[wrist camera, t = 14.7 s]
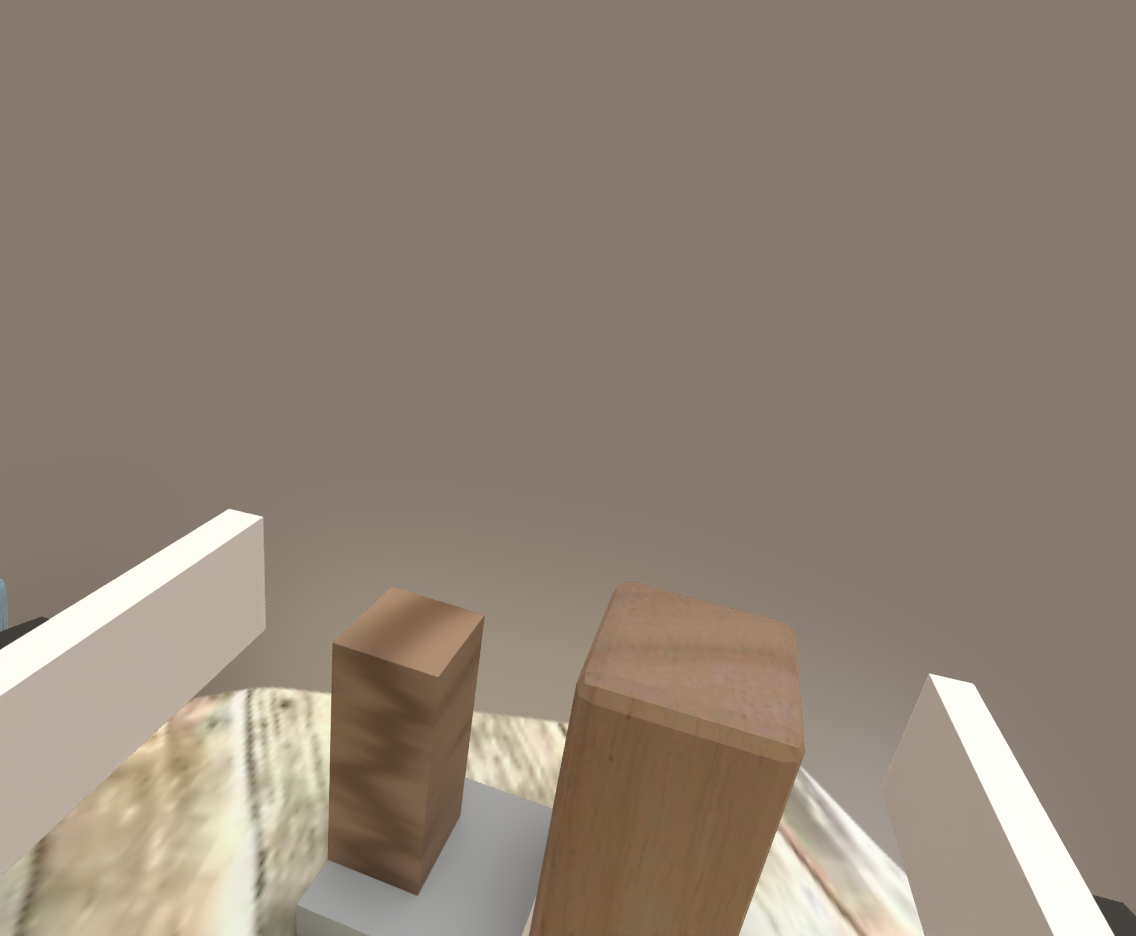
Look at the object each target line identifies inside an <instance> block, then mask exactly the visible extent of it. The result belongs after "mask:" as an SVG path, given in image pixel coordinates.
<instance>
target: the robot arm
mask: <svg viewBox="0 0 1136 936" xmlns="http://www.w3.org/2000/svg"><path fill="white" fill-rule="evenodd" d="M265 623H266V622H265V578H264V532H263V517H261V516H256V515H253V514H248V513H244V512H239V511H235V510H231V509H228V510H227V511H225V512H223V513H222V514H220V515H219V516H217V517H215V518H214V519H212V520H211V521H209V522H207V523H206V524H204V525H203V526H201V527H199V528H197V529H196V530H194V531H193V532H191V533H189V534H188V535H186V536H184V537H183V538H181V539H180V540H178V541H176V542H175V543H173V544H171V545H170V546H168V547H167V548H165V549H163V550H162V551H160V552H158V553H157V554H155V555H154V556H152V557H150V558H149V559H147V560H146V561H144V562H142V563H141V564H139V565H137V566H136V567H134V568H132V569H131V570H129V571H128V572H126V573H125V574H123V575H121V576H119V577H118V578H116V579H115V580H113V581H111V582H110V583H108V584H106V585H105V586H103V587H102V588H100V589H99V590H97V591H95V592H93V593H92V594H90V595H89V596H87V597H85V598H84V599H82V600H80V601H79V602H77V603H76V604H74V605H72V606H71V607H69V608H68V609H66V610H64V611H63V612H61V613H59V614H58V615H56V616H54V617H53V618H51V619H48V618H44V617H39V618H37V619H34V620H31V621H28V622H26V623H23V624H20V625H17V626H14V627H12V628H9V629H8V609H7V595H6V587H5V584H4V582H3V580H2V579H1V578H0V877H1V876H2V875H3V874H4V873H5V872H6V871H7V870H8V869H10V868H11V867H12V866H13V865H14V864H15V863H16V862H17V861H18V860H19V859H20V858H21V857H22V856H23V855H25V854H26V853H27V852H28V851H29V850H30V849H31V848H32V847H33V846H34V845H35V844H36V843H37V842H38V841H39V840H41V839H42V838H43V837H44V836H45V835H46V834H47V833H48V832H49V831H50V830H51V829H52V828H53V827H54V826H56V825H57V824H58V823H59V822H60V821H61V820H62V819H63V818H64V817H65V816H66V815H67V814H68V813H69V812H70V811H72V810H73V809H74V808H75V807H76V806H77V805H78V804H79V803H80V802H81V801H82V800H83V799H84V798H85V797H86V796H88V795H89V794H90V793H91V792H92V791H93V790H94V789H95V788H96V787H97V786H98V785H99V784H100V783H101V782H103V781H104V780H105V779H106V778H107V777H108V776H109V775H110V774H111V773H112V772H113V771H114V770H115V769H116V768H117V767H119V766H120V765H121V764H122V763H123V762H124V761H125V760H126V759H127V758H128V757H129V756H130V755H131V754H132V753H133V752H135V751H136V750H137V749H138V748H139V747H140V746H141V745H142V744H143V743H144V742H145V741H146V740H147V739H148V738H150V737H151V736H152V735H153V734H154V733H155V732H156V731H157V730H158V729H159V728H160V727H161V726H162V725H163V724H164V723H166V722H167V721H168V720H169V719H170V718H171V717H172V716H173V715H174V714H175V713H176V712H177V711H178V710H179V709H180V708H182V707H183V706H184V705H185V704H186V703H187V702H188V701H189V700H190V699H191V698H192V697H193V696H194V695H195V694H197V693H198V692H199V691H200V690H201V689H202V688H203V687H204V686H205V685H206V684H207V683H208V682H209V681H210V680H211V679H213V678H214V677H215V676H216V675H217V674H218V673H219V672H220V671H221V670H222V669H223V668H224V667H225V666H226V665H228V664H229V663H230V662H231V661H232V660H233V659H234V658H235V657H236V656H237V655H238V654H239V653H240V652H241V651H242V650H244V649H245V648H246V647H247V646H248V645H249V644H250V643H251V642H252V641H253V640H254V639H255V638H256V637H257V636H258V635H260V634H261V633H262V632H263V631H264V630H265V629H266V624H265ZM881 790H882V793H883V797H884V800H885V804H886V807H887V810H888V814H889V817H890V820H891V824H892V827H893V830H894V834H895V837H896V841H897V844H898V847H899V850H900V854H901V857H902V861H903V864H904V867H905V871H906V874H907V877H908V881H909V884H910V888H911V891H912V894H913V898H914V901H915V904H916V908H917V911H918V914H919V918H920V921H921V925H922V928H923V931H924V935H925V936H1136V916H1135V915H1134V914H1133V913H1132V912H1131V911H1130V910H1129V909H1128V908H1127V907H1126V906H1125V905H1124V903H1121V902H1117V901H1114V900H1110V899H1106V898H1102V897H1099V896H1094V895H1091V893H1090V891H1089V889H1088V888H1087V886H1086V884H1085V882H1084V881H1083V879H1082V877H1081V875H1080V873H1079V871H1078V870H1077V868H1076V866H1075V864H1074V862H1073V861H1072V859H1071V857H1070V855H1069V854H1068V852H1067V850H1066V848H1065V846H1064V845H1063V843H1062V841H1061V839H1060V838H1059V836H1058V834H1057V832H1056V831H1055V829H1054V827H1053V825H1052V823H1051V821H1050V820H1049V818H1048V816H1047V814H1046V813H1045V811H1044V809H1043V807H1042V805H1041V804H1040V802H1039V800H1038V798H1037V796H1036V795H1035V793H1034V791H1033V789H1032V788H1031V786H1030V784H1029V782H1028V780H1027V779H1026V777H1025V775H1024V773H1023V771H1022V770H1021V768H1020V766H1019V764H1018V763H1017V761H1016V759H1015V757H1014V755H1013V754H1012V752H1011V750H1010V748H1009V746H1008V745H1007V743H1006V741H1005V739H1004V738H1003V736H1002V734H1001V732H1000V730H999V729H998V727H997V725H996V723H995V722H994V720H993V718H992V716H991V715H990V713H989V711H988V709H987V707H986V706H985V704H984V702H983V700H982V698H981V697H980V695H979V693H978V691H977V689H976V688H975V686H974V684H971V683H967V682H962V681H959V680H954V679H950V678H946V677H942V676H937V675H933V674H929V675H928V677H927V680H926V682H925V684H924V687H923V689H922V691H921V694H920V696H919V699H918V701H917V703H916V705H915V708H914V710H913V713H912V715H911V717H910V719H909V722H908V724H907V726H906V729H905V731H904V734H903V736H902V738H901V740H900V743H899V745H898V747H897V750H896V752H895V754H894V757H893V759H892V761H891V764H890V766H889V768H888V771H887V773H886V775H885V778H884V780H883V782H882V785H881Z"/></svg>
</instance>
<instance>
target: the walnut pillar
mask: <svg viewBox="0 0 1136 936" xmlns="http://www.w3.org/2000/svg"><path fill="white" fill-rule="evenodd" d="M484 616H485V615H483V614H480V613H477V612H473V611H470V610H467V609H463V608H460V607H457V606H454V605H450V604H447V603H443V602H440V601H436V600H433V599H430V598H427V597H424V596H420V595H417V594H414V593H410V592H407V591H403V590H401V589H397V588H394V587H391V588H390V589H389V590H388V591H387V592H386V593H385V594H384V595H383V596H382V597H380V598H379V599H378V600H377V602H375V603H374V604H373V605H372V606H371V607H370V608H369V609H368V610H367V611H366V612H365V613H364V614H362V615H361V616H360V618H358V619H357V620H356V621H355V622H354V623H353V624H352V625H351V626H350V627H349V628H348V629H347V630H346V631H344V632H343V634H341V635H340V636H339V637H338V638H337V639H336V640H335V641H334V642H333V650H332V653H333V654H332V695H331V741H330V787H329V832H328V860H329V861H332V862H334V863H337V864H339V865H342V866H344V867H347V868H349V869H352V870H354V871H357V872H359V873H362V874H364V875H367V876H369V877H372V878H374V879H377V880H379V881H382V882H384V883H387V884H389V885H392V886H394V887H397V888H399V889H402V890H404V891H406V892H409V893H411V894H414V895H416V896H418V894H419V893H420V891H421V889H422V887H423V885H424V883H425V881H426V879H427V878H428V876H429V874H430V872H431V870H432V868H433V866H434V864H435V863H436V861H437V859H438V857H439V855H440V853H441V851H442V849H443V848H444V846H445V844H446V842H447V840H448V838H449V836H450V834H451V832H452V831H453V829H454V827H455V825H456V823H457V821H458V819H459V817H460V815H461V807H462V799H463V790H464V782H465V774H466V765H467V757H468V749H469V741H470V732H471V724H472V716H473V707H474V699H475V691H476V682H477V674H478V665H479V658H480V649H481V641H482V633H483V625H484Z"/></svg>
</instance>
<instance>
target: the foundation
mask: <svg viewBox="0 0 1136 936" xmlns="http://www.w3.org/2000/svg"><path fill="white" fill-rule="evenodd" d="M552 810H553V809H551V808H549V807H546V806H543V805H540V804H537V803H535V802H532V801H529V800H526V799H523V798H521V797H518V796H515V795H512V794H509V793H507V792H504V791H501V790H498V789H495V788H493V787H490V786H487V785H484V784H481V783H479V782H476V781H473V780H470V779H467V778H465V782H464V790H463V799H462V807H461V815H460V817H459V819H458V821H457V823H456V825H455V827H454V829H453V831H452V832H451V834H450V836H449V838H448V840H447V842H446V844H445V846H444V848H443V849H442V851H441V853H440V855H439V857H438V859H437V861H436V863H435V864H434V866H433V868H432V870H431V872H430V874H429V876H428V878H427V879H426V881H425V883H424V885H423V887H422V889H421V891H420V893H419V894H418V896H416V895H414V894H411V893H409V892H406V891H404V890H402V889H399V888H397V887H394V886H392V885H389V884H387V883H384V882H382V881H379V880H377V879H374V878H372V877H369V876H367V875H364V874H362V873H359V872H357V871H354V870H352V869H349V868H347V867H344V866H342V865H339V864H337V863H334V862H332V861H329V860H327V862H326V863H325V865H324V866H323V868H322V869H321V870H320V872H319V873H318V875H317V876H316V878H315V879H314V880H313V882H312V883H311V885H310V886H309V887H308V889H307V890H306V892H305V893H304V895H303V896H302V897H301V899H300V900H299V902H298V903H297V905H296V936H529V932H530V927H531V921H532V916H533V911H534V906H535V900H536V895H537V890H538V884H539V879H540V874H541V869H542V863H543V858H544V853H545V847H546V842H547V837H548V832H549V826H550V821H551V816H552Z"/></svg>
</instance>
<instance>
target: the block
mask: <svg viewBox="0 0 1136 936" xmlns="http://www.w3.org/2000/svg"><path fill="white" fill-rule="evenodd" d="M804 754H805V747H804V736H803V723H802V710H801V697H800V685H799V673H798V660H797V648H796V640H795V634H794V631H793V630H792V629H791V628H790V627H789V626H787V625H786V624H784V623H782V622H780V621H777V620H773V619H770V618H766V617H762V616H759V615H755V614H751V613H747V612H744V611H740V610H736V609H732V608H728V607H725V606H721V605H717V604H714V603H710V602H706V601H703V600H699V599H695V598H691V597H688V596H684V595H680V594H676V593H673V592H669V591H665V590H662V589H658V588H654V587H650V586H647V585H643V584H639V583H636V582H626V583H622V584H620V585H619V587H618V588H617V589H616V590H615V592H614V593H613V594H612V597H611V599H610V602H609V604H608V607H607V609H606V611H605V614H604V616H603V619H602V621H601V624H600V626H599V629H598V631H597V634H596V636H595V639H594V641H593V644H592V646H591V649H590V651H589V654H588V656H587V659H586V661H585V664H584V666H583V669H582V671H581V674H580V676H579V679H578V681H577V684H576V689H575V694H574V699H573V705H572V710H571V716H570V721H569V726H568V731H567V736H566V742H565V747H564V752H563V758H562V763H561V768H560V773H559V779H558V784H557V789H556V795H555V800H554V805H553V810H552V816H551V821H550V826H549V832H548V837H547V842H546V847H545V853H544V858H543V863H542V869H541V874H540V879H539V884H538V890H537V895H536V900H535V906H534V911H533V916H532V921H531V927H530V932H529V936H739V933H740V930H741V927H742V925H743V922H744V919H745V916H746V914H747V911H748V908H749V905H750V903H751V900H752V897H753V894H754V892H755V889H756V886H757V883H758V881H759V878H760V875H761V872H762V869H763V867H764V864H765V861H766V858H767V856H768V853H769V850H770V847H771V845H772V842H773V839H774V836H775V834H776V831H777V828H778V825H779V823H780V820H781V817H782V814H783V812H784V809H785V806H786V803H787V800H788V798H789V795H790V792H791V789H792V787H793V784H794V781H795V778H796V776H797V773H798V770H799V767H800V765H801V762H802V759H803V756H804Z"/></svg>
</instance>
